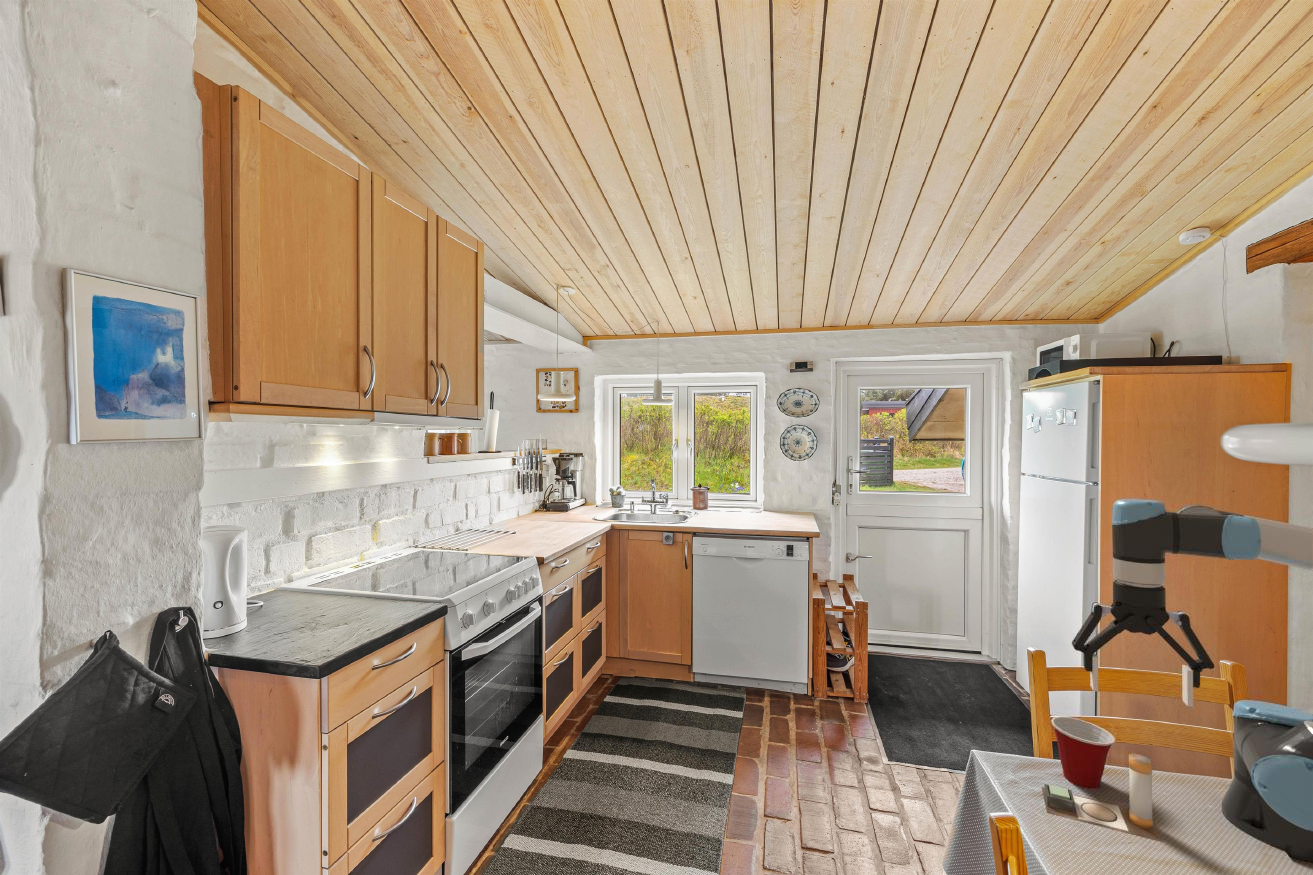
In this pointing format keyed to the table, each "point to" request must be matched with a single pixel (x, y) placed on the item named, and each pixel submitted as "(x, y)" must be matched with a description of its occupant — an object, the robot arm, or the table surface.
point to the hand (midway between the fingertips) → (1139, 695)
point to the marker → (1140, 791)
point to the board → (1096, 813)
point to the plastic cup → (1082, 750)
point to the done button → (1059, 792)
